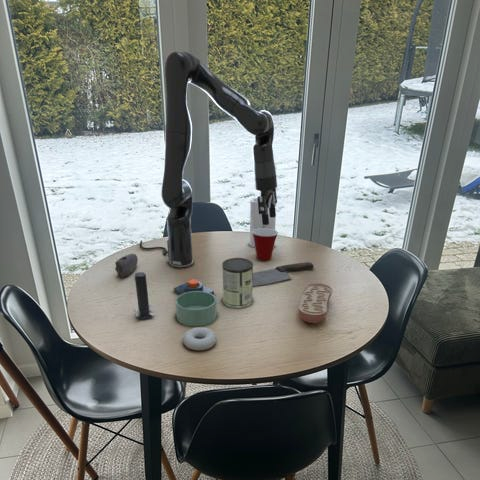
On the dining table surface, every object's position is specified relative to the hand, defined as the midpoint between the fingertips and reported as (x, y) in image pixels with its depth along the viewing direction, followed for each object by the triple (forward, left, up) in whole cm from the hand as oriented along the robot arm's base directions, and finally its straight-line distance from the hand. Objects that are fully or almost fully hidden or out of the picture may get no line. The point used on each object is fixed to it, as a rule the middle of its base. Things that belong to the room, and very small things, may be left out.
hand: (269, 220), depth 169 cm
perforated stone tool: (-42, -34, -23) cm, 59 cm away
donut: (+16, -48, -23) cm, 56 cm away
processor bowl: (+3, -38, -23) cm, 45 cm away
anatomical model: (+28, -8, -23) cm, 37 cm away
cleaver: (+2, +6, -23) cm, 23 cm away
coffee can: (+5, -21, -23) cm, 32 cm away
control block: (-10, -28, -23) cm, 38 cm away
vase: (-25, +25, -23) cm, 42 cm away
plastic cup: (-14, +14, -23) cm, 30 cm away
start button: (-10, -28, -19) cm, 36 cm away
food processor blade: (-9, -50, -23) cm, 56 cm away
